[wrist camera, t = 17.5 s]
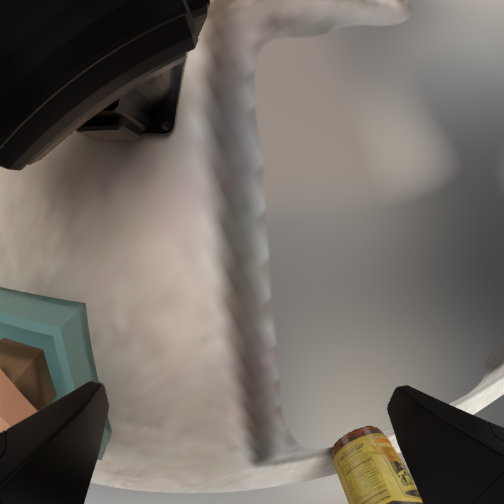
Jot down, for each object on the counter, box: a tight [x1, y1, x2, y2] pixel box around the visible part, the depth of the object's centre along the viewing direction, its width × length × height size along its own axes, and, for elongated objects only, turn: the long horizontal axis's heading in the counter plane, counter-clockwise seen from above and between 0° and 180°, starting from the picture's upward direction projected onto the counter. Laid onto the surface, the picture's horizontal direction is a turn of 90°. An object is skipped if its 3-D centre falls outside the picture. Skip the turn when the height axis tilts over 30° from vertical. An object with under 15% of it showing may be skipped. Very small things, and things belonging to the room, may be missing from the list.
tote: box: [0, 287, 112, 460], centre depth 17 cm, size 14×14×4 cm
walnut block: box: [0, 338, 57, 411], centre depth 16 cm, size 5×5×5 cm
